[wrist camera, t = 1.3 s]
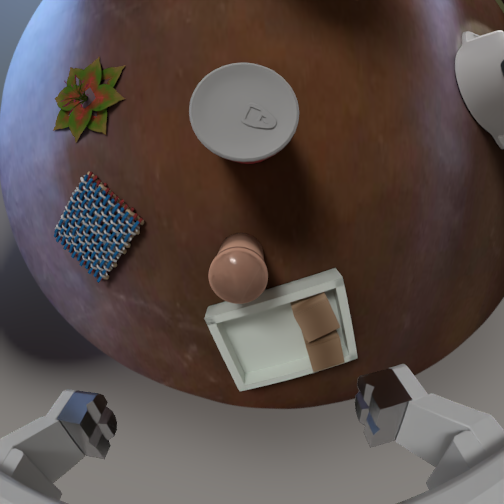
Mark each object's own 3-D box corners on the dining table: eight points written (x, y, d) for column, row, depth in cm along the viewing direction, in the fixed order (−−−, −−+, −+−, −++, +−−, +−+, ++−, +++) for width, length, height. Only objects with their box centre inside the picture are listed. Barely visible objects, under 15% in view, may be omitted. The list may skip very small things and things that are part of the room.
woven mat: (151, 220, 32) (144, 223, 30) (108, 281, 35) (101, 287, 33) (92, 167, 30) (84, 167, 28) (56, 230, 33) (48, 234, 31)
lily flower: (46, 141, 29) (25, 140, 25) (68, 59, 26) (50, 50, 21) (116, 148, 30) (97, 147, 25) (141, 56, 26) (127, 43, 22)
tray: (335, 267, 33) (342, 277, 30) (351, 345, 36) (357, 358, 34) (208, 306, 35) (204, 318, 32) (240, 377, 38) (239, 391, 35)
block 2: (331, 320, 35) (339, 337, 31) (337, 344, 36) (344, 362, 32) (301, 330, 35) (306, 348, 31) (308, 353, 36) (313, 372, 32)
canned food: (279, 169, 30) (292, 169, 20) (205, 159, 30) (180, 155, 19) (288, 102, 28) (306, 70, 17) (215, 93, 28) (196, 58, 17)
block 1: (319, 284, 33) (327, 299, 29) (332, 310, 34) (340, 327, 30) (289, 299, 34) (293, 316, 30) (303, 324, 35) (308, 342, 31)
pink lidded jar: (256, 224, 32) (257, 240, 25) (271, 268, 33) (275, 294, 27) (210, 239, 32) (199, 258, 26) (226, 282, 34) (220, 310, 27)
